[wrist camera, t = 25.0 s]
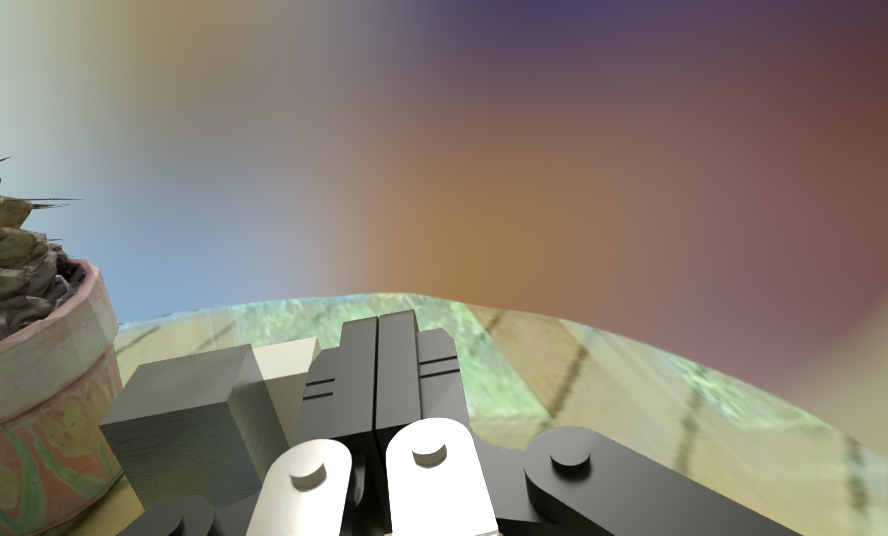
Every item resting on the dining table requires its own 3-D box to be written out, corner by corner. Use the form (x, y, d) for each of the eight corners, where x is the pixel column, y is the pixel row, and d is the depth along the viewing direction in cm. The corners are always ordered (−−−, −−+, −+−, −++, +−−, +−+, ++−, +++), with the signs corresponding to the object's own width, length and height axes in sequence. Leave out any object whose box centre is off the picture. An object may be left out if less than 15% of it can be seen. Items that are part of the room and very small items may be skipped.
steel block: (207, 622, 28) (98, 425, 22) (228, 549, 31) (139, 364, 26) (312, 602, 27) (226, 400, 22) (321, 531, 31) (250, 343, 26)
